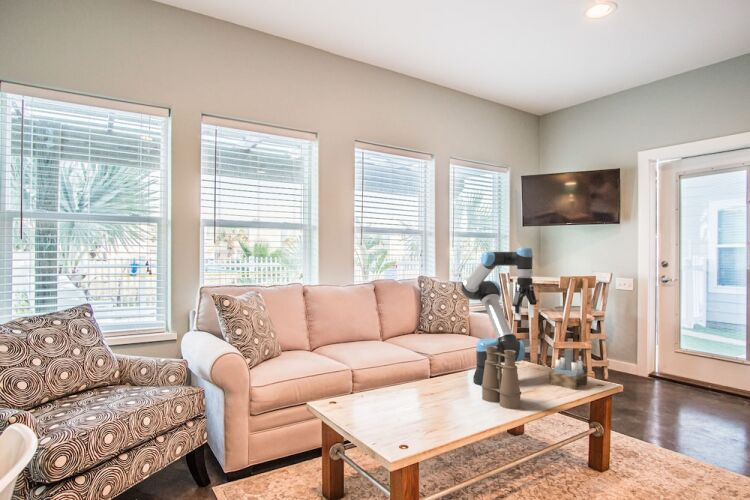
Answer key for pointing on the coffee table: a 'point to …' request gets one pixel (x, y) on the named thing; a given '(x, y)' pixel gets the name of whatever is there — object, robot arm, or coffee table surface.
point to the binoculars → (501, 379)
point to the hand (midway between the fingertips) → (524, 318)
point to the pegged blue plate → (568, 364)
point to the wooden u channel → (568, 379)
